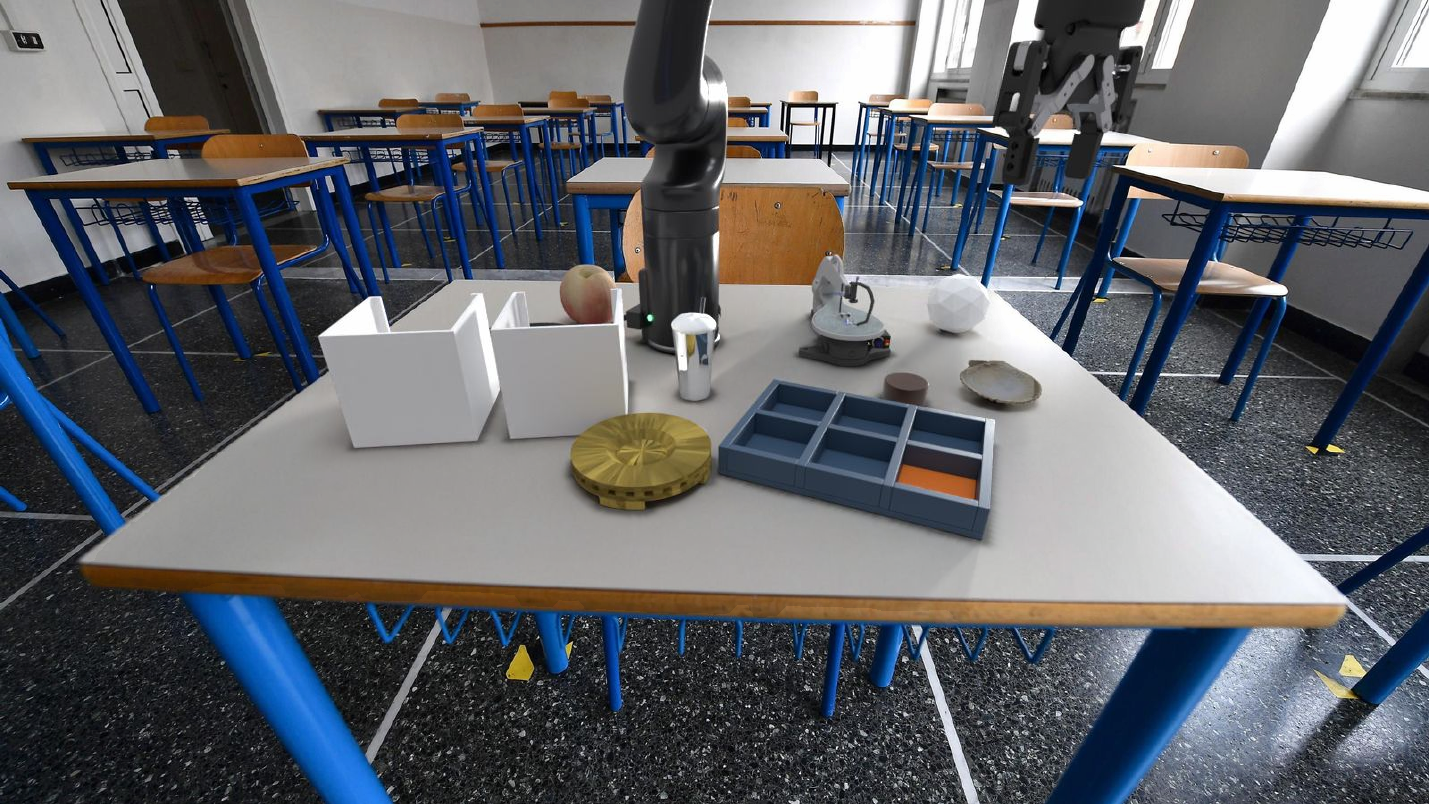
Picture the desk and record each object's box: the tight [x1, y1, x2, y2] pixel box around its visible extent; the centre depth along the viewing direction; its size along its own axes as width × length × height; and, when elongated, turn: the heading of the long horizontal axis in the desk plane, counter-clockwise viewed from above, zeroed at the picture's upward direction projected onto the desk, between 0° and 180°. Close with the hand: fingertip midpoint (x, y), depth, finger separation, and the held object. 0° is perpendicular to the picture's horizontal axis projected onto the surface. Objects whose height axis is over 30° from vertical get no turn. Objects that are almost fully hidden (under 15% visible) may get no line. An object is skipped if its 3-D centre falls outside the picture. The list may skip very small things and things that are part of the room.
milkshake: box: [671, 297, 716, 402], centre depth 63 cm, size 4×5×10 cm
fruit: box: [559, 264, 618, 325], centre depth 83 cm, size 8×8×8 cm
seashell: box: [959, 359, 1043, 405], centre depth 64 cm, size 8×3×8 cm
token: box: [881, 371, 929, 407], centre depth 63 cm, size 4×4×2 cm
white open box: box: [317, 288, 629, 449], centre depth 59 cm, size 25×11×11 cm, turn 97°
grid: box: [717, 379, 996, 541], centre depth 53 cm, size 21×14×3 cm
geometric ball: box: [926, 273, 991, 335], centre depth 81 cm, size 8×8×8 cm
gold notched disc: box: [569, 412, 712, 511], centre depth 52 cm, size 12×12×2 cm
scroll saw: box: [798, 254, 892, 367], centre depth 77 cm, size 20×11×12 cm
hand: (1046, 181), depth 53 cm, fingers open, 8 cm apart
